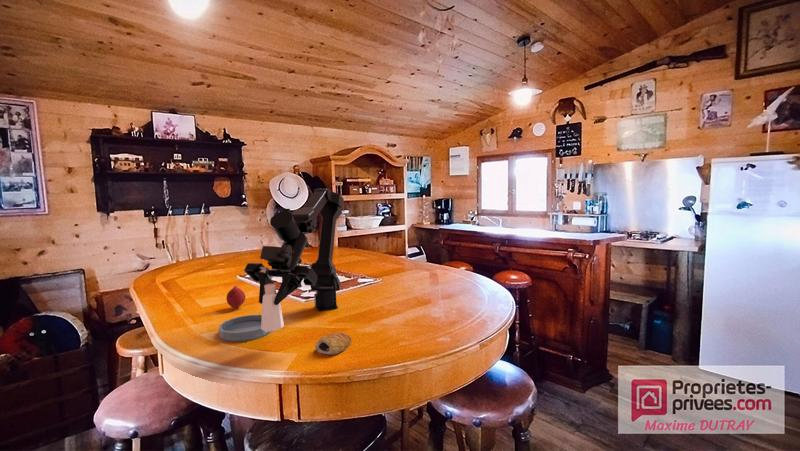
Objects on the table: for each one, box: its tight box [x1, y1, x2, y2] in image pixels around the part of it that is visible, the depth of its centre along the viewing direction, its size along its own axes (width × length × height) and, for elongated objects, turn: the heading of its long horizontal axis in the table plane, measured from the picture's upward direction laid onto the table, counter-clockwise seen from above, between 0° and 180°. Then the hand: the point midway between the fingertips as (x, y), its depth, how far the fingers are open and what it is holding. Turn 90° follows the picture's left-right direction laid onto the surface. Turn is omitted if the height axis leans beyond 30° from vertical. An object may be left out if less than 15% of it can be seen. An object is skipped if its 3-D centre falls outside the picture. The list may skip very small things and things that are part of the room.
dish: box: [218, 314, 273, 343], centre depth 105 cm, size 14×14×2 cm
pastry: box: [314, 332, 352, 356], centre depth 94 cm, size 9×7×4 cm
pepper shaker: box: [261, 283, 285, 332], centre depth 93 cm, size 5×5×11 cm
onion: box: [225, 284, 246, 309], centre depth 126 cm, size 6×6×8 cm
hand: (267, 303), depth 91 cm, fingers closed on pepper shaker, 4 cm apart
